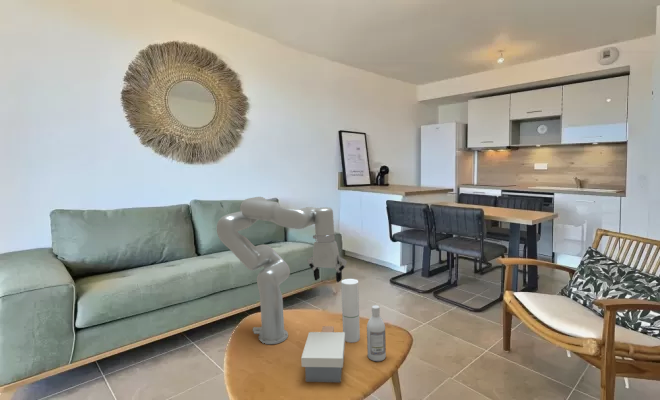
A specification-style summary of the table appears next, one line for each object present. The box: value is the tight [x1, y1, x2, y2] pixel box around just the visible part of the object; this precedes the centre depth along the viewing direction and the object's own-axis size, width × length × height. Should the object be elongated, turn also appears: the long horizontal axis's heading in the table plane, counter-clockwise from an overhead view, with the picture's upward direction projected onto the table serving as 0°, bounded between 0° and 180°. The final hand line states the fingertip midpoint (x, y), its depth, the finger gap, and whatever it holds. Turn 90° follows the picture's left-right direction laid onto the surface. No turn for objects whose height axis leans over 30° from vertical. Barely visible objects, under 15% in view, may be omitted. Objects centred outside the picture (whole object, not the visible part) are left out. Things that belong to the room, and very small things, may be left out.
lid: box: [300, 325, 346, 369], centre depth 126 cm, size 23×14×3 cm, turn 175°
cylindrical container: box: [340, 278, 361, 344], centre depth 144 cm, size 7×7×25 cm
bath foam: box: [366, 304, 387, 362], centre depth 129 cm, size 7×7×20 cm
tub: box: [304, 367, 343, 383], centre depth 124 cm, size 16×12×8 cm
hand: (327, 280), depth 137 cm, fingers open, 9 cm apart
